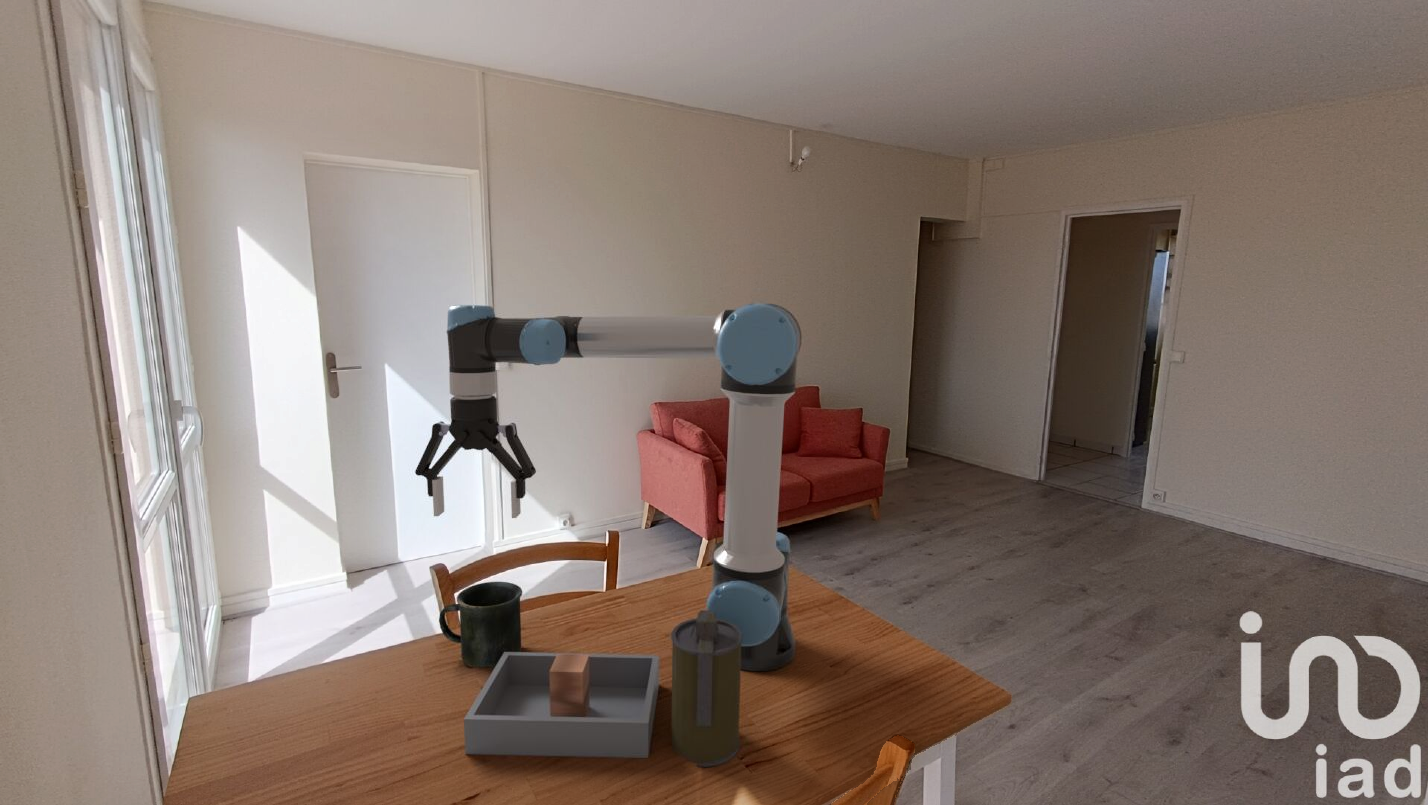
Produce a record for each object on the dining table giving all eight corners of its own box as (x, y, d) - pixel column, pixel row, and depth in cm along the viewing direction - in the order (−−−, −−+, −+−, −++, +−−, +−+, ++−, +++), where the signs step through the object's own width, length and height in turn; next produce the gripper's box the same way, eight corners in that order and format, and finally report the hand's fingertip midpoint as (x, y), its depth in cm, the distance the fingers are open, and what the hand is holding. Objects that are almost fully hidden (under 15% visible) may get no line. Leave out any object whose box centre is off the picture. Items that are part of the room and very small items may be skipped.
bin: (658, 688, 112) (659, 655, 111) (647, 761, 94) (648, 723, 93) (505, 684, 112) (504, 651, 111) (465, 757, 94) (463, 719, 93)
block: (589, 706, 105) (589, 654, 104) (583, 727, 100) (582, 672, 99) (558, 706, 105) (557, 653, 104) (550, 726, 100) (549, 671, 99)
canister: (673, 719, 103) (674, 599, 100) (739, 722, 103) (743, 601, 100) (665, 768, 93) (667, 635, 90) (740, 771, 92) (744, 638, 89)
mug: (517, 671, 116) (515, 606, 114) (431, 673, 115) (428, 608, 113) (528, 639, 127) (527, 580, 125) (450, 641, 125) (447, 582, 123)
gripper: (551, 394, 117) (553, 509, 120) (410, 391, 117) (416, 506, 120) (540, 400, 109) (542, 523, 113) (390, 397, 109) (396, 520, 113)
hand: (477, 515), depth 116 cm, fingers open, 13 cm apart
